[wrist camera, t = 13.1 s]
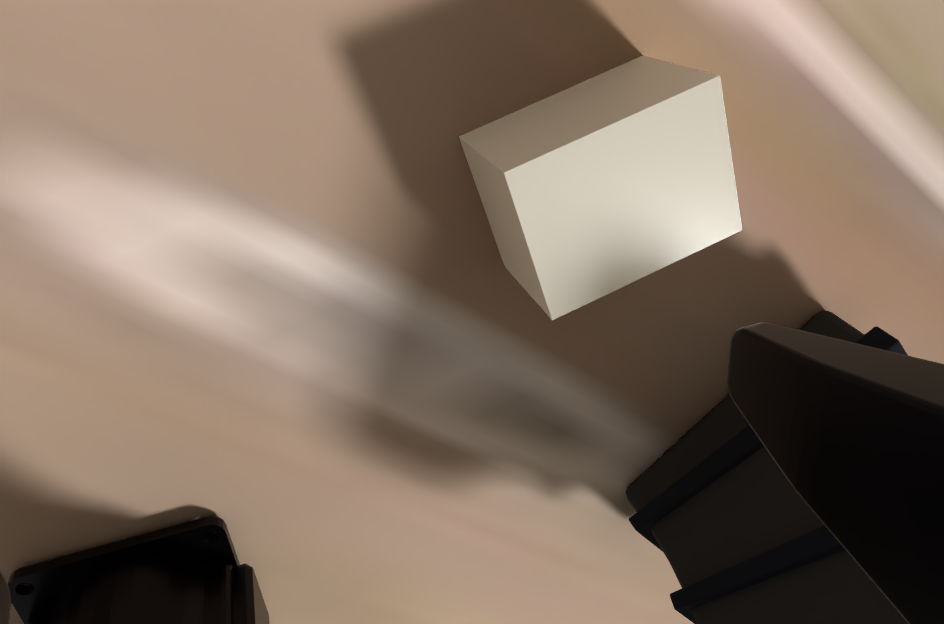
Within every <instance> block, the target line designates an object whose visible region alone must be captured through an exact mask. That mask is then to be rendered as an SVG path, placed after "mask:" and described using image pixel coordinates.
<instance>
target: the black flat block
mask: <svg viewBox="0 0 944 624" xmlns="http://www.w3.org/2000/svg"><path fill="white" fill-rule="evenodd" d="M800 330H802V331H806V332H810V333H814V334H818V335H823V336H827V337H831V338H835V339H840V340H844V341H848V342H852V343H856V344H861V345H865V346H869V347H873V348H877V349H882V350H886V351H890V352H894V353H899V354H903V355H907V353H906V352H905V350H904V348H903V347H902V345H901V344H900V342H899V340H897V339H896V338H894V337H893V336H891V335H889V334H888V333H886V332H885V331H883V330H882V329H880V328H879V327H874V328H873V329H872V330H870V331H869V332H868V333H866V334H865V335H864V334H863V333H861V332H860V331H858V330H857V329H855V328H854V327H852V326H851V325H849V324H848V323H846V322H845V321H844V320H842V319H841V318H839V317H838V316H836V315H835V314H833V313H831V312H829V311H825V310H823V311H821V312H819V313H818V314H817V315H816V316H815V317H814V318H812V319H811V320H810V321H809V322H808V323H807V324H806V325H805V326H804V327H803V328H802V329H800ZM907 356H908V355H907ZM626 495H627V498H628V500H629V502H630V503H631V505H632V506H633V507H634V509H635V510H636V511H637V513H636V514H634V515H633V516H632V517H630V518H629V521H630V523H631V524H632V525H633V527H634V528H635V530H636V531H637V532H639V533H640V534H641V535H642V536H644V537H645V538H646V539H648V540H649V541H650V542H651V543H653V544H654V545H655V546H656V547H658V548H659V549H660V550H661V551H663V552H664V554H665V555H666V557H667V559H668V560H669V562H670V564H671V566H672V568H673V570H674V572H675V574H676V576H677V578H678V580H679V583H680V585H681V587H682V589H680V590H678V591H676V592H674V593H671V594H670V597H671V600H672V603H673V606H674V608H675V610H677V611H678V612H679V613H681V614H682V615H683V616H685V617H686V618H688V619H689V620H690V621H692V622H693V623H694V624H909V623H908V622H907V621H906V620H905V619H904V617H903V616H902V615H901V614H900V613H899V612H898V610H897V609H896V608H895V607H894V606H893V605H892V603H891V602H890V601H889V600H888V599H887V598H886V596H885V595H884V594H883V593H882V592H881V590H880V589H879V588H878V587H877V586H876V585H875V583H874V582H873V581H872V580H871V579H870V578H869V576H868V575H867V574H866V573H865V572H864V571H863V569H862V568H861V567H860V566H859V565H858V564H857V562H856V561H855V560H854V559H853V558H852V556H851V555H850V554H849V553H848V552H847V551H846V549H845V548H844V547H843V546H842V545H841V544H840V542H839V541H838V540H837V539H836V538H835V537H834V535H833V534H832V533H831V532H830V531H829V530H828V528H827V527H826V526H825V525H824V524H823V522H822V521H821V520H820V519H819V518H818V517H817V515H816V514H815V513H814V512H813V511H812V510H811V508H810V507H809V506H808V505H807V504H806V502H805V501H804V500H803V499H802V498H801V496H800V495H799V494H798V493H797V491H796V490H795V489H794V487H793V486H792V485H791V483H790V482H789V481H788V479H787V478H786V477H785V475H784V474H783V472H782V471H781V470H780V468H779V467H778V465H777V464H776V462H775V461H774V459H773V458H772V456H771V455H770V454H769V452H768V451H767V449H766V448H765V446H764V445H763V443H762V442H761V441H760V439H759V438H758V436H757V435H756V433H755V432H754V430H753V429H752V428H751V426H750V425H749V423H748V422H747V420H746V419H745V417H744V416H743V414H742V413H741V412H740V410H739V409H738V407H737V406H736V404H735V403H734V401H733V400H732V398H731V396H730V395H728V396H727V397H726V398H725V399H724V400H723V401H722V402H721V403H720V404H719V405H718V406H716V407H715V408H714V409H713V410H712V411H711V412H710V413H709V414H708V415H707V416H706V417H704V418H703V419H702V420H701V421H700V422H699V423H698V424H697V425H696V426H695V427H694V428H692V429H691V430H690V431H689V432H688V433H687V434H686V435H685V436H684V437H683V438H682V439H680V440H679V441H678V442H677V443H676V444H675V445H674V446H673V447H672V448H671V449H670V450H668V451H667V452H666V453H665V454H664V455H663V456H662V457H661V458H660V459H659V460H658V461H656V462H655V463H654V464H653V465H652V466H651V467H650V468H649V469H648V470H647V471H646V472H644V473H643V474H642V475H641V476H640V477H639V478H638V479H637V480H636V481H635V482H634V483H632V484H631V485H630V486H629V487H628V489H627V490H626Z"/></svg>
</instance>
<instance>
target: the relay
mask: <svg viewBox="0 0 944 624" xmlns="http://www.w3.org/2000/svg"><path fill="white" fill-rule="evenodd" d="M459 139H460V142H461V145H462V148H463V150H464V153H465V156H466V159H467V162H468V164H469V167H470V170H471V173H472V176H473V179H474V181H475V184H476V187H477V190H478V193H479V196H480V198H481V201H482V204H483V207H484V210H485V213H486V215H487V218H488V221H489V224H490V227H491V230H492V232H493V235H494V238H495V241H496V244H497V247H498V249H499V252H500V255H501V258H502V261H503V264H504V266H505V268H506V269H507V270H508V271H509V272H510V273H511V275H512V276H513V277H514V278H515V279H516V280H517V281H518V283H519V284H520V285H521V286H522V287H523V288H524V289H525V290H526V292H527V293H528V294H529V295H530V296H531V297H532V298H533V299H534V301H535V302H536V303H537V304H538V305H539V306H540V307H541V308H542V310H543V311H544V312H545V313H546V314H547V315H548V316H549V317H550V319H551V320H552V321H553V320H555V319H557V318H559V317H561V316H563V315H565V314H567V313H569V312H571V311H574V310H576V309H578V308H580V307H582V306H584V305H586V304H588V303H590V302H592V301H595V300H597V299H599V298H601V297H603V296H605V295H607V294H609V293H611V292H613V291H616V290H618V289H620V288H622V287H624V286H626V285H628V284H630V283H632V282H634V281H636V280H639V279H641V278H643V277H645V276H647V275H649V274H651V273H653V272H655V271H657V270H660V269H662V268H664V267H666V266H668V265H670V264H672V263H674V262H676V261H678V260H681V259H683V258H685V257H687V256H689V255H691V254H693V253H695V252H697V251H699V250H702V249H704V248H706V247H708V246H710V245H712V244H714V243H716V242H718V241H720V240H723V239H725V238H727V237H729V236H731V235H733V234H735V233H737V232H739V231H741V230H742V225H741V218H740V211H739V204H738V197H737V190H736V183H735V176H734V169H733V162H732V155H731V148H730V142H729V135H728V128H727V121H726V114H725V107H724V100H723V93H722V86H721V79H720V75H716V74H712V73H708V72H705V71H701V70H697V69H693V68H689V67H685V66H682V65H678V64H674V63H670V62H666V61H662V60H659V59H655V58H651V57H647V56H643V55H642V56H640V57H638V58H636V59H633V60H631V61H629V62H626V63H624V64H622V65H620V66H617V67H615V68H613V69H611V70H608V71H606V72H604V73H602V74H599V75H597V76H595V77H592V78H590V79H588V80H586V81H583V82H581V83H579V84H577V85H574V86H572V87H570V88H567V89H565V90H563V91H561V92H558V93H556V94H554V95H552V96H549V97H547V98H545V99H543V100H540V101H538V102H536V103H533V104H531V105H529V106H527V107H524V108H522V109H520V110H518V111H515V112H513V113H511V114H508V115H506V116H504V117H502V118H499V119H497V120H495V121H493V122H490V123H488V124H486V125H484V126H481V127H479V128H477V129H474V130H472V131H470V132H468V133H465V134H463V135H461V136H459Z"/></svg>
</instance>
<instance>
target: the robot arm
mask: <svg viewBox="0 0 944 624" xmlns="http://www.w3.org/2000/svg"><path fill="white" fill-rule="evenodd" d="M727 384H728V390H729V393H730V396H731V398H732V400H733V401H734V403H735V404H736V406H737V407H738V409H739V410H740V412H741V413H742V414H743V416H744V417H745V419H746V420H747V422H748V423H749V425H750V426H751V428H752V429H753V430H754V432H755V433H756V435H757V436H758V438H759V439H760V441H761V442H762V443H763V445H764V446H765V448H766V449H767V451H768V452H769V454H770V455H771V456H772V458H773V459H774V461H775V462H776V464H777V465H778V467H779V468H780V470H781V471H782V472H783V474H784V475H785V477H786V478H787V479H788V481H789V482H790V483H791V485H792V486H793V487H794V489H795V490H796V491H797V493H798V494H799V495H800V496H801V498H802V499H803V500H804V501H805V502H806V504H807V505H808V506H809V507H810V508H811V510H812V511H813V512H814V513H815V514H816V515H817V517H818V518H819V519H820V520H821V521H822V522H823V524H824V525H825V526H826V527H827V528H828V530H829V531H830V532H831V533H832V534H833V535H834V537H835V538H836V539H837V540H838V541H839V542H840V544H841V545H842V546H843V547H844V548H845V549H846V551H847V552H848V553H849V554H850V555H851V556H852V558H853V559H854V560H855V561H856V562H857V564H858V565H859V566H860V567H861V568H862V569H863V571H864V572H865V573H866V574H867V575H868V576H869V578H870V579H871V580H872V581H873V582H874V583H875V585H876V586H877V587H878V588H879V589H880V590H881V592H882V593H883V594H884V595H885V596H886V598H887V599H888V600H889V601H890V602H891V603H892V605H893V606H894V607H895V608H896V609H897V610H898V612H899V613H900V614H901V615H902V616H903V617H904V619H905V620H906V621H907V622H908V623H909V624H944V364H941V363H936V362H932V361H928V360H924V359H920V358H915V357H911V356H907V355H903V354H899V353H894V352H890V351H886V350H882V349H877V348H873V347H869V346H865V345H861V344H856V343H852V342H848V341H844V340H840V339H835V338H831V337H827V336H823V335H818V334H814V333H810V332H806V331H802V330H797V329H793V328H789V327H785V326H781V325H776V324H772V323H767V322H760V323H757V324H753V325H749V326H745V327H741V328H738V329H737V330H736V331H735V332H734V333H733V335H732V337H731V344H730V355H729V366H728V378H727ZM207 531H215V532H216V533H214V534H209V535H208V534H205V532H207ZM21 583H30V584H32V585H27V586H26V585H22V584H21ZM11 602H12V604H13V605H14V607H15V609H16V610H17V612H18V614H19V616H20V617H21V619H22V621H23V623H24V624H269V615H268V611H267V608H266V605H265V602H264V599H263V596H262V594H261V591H260V588H259V585H258V582H257V579H256V576H255V573H254V570H253V568H252V567H251V566H249V565H247V564H242V565H240V563H239V560H238V558H237V555H236V552H235V549H234V546H233V543H232V540H231V538H230V535H229V532H228V529H227V526H226V524H225V522H224V521H223V520H222V519H220V518H219V517H213V516H211V517H205V518H201V519H197V520H194V521H190V522H187V523H183V524H179V525H176V526H172V527H168V528H165V529H161V530H157V531H154V532H150V533H147V534H143V535H139V536H136V537H132V538H128V539H125V540H121V541H118V542H114V543H110V544H107V545H103V546H99V547H96V548H92V549H89V550H85V551H81V552H78V553H74V554H70V555H67V556H63V557H59V558H56V559H52V560H49V561H45V562H41V563H38V564H34V565H30V566H27V567H23V568H20V569H18V570H16V571H14V572H13V573H12V574H11V576H10V578H9V581H8V584H7V582H6V580H5V578H4V576H3V575H2V573H1V571H0V624H9V617H10V606H11Z"/></svg>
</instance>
